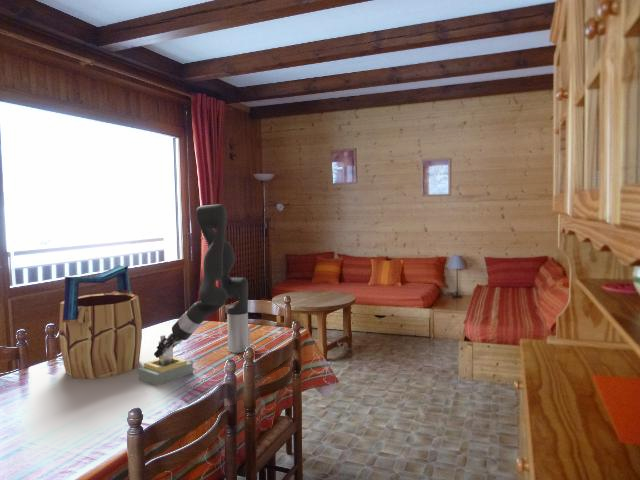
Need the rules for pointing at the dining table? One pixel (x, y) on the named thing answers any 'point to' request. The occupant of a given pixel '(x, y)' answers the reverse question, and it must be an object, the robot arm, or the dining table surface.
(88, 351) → the bucket
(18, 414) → the dining table surface
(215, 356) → the dining table surface
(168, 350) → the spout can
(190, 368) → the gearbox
